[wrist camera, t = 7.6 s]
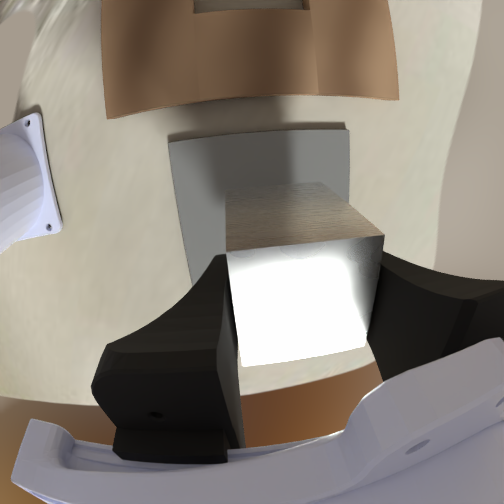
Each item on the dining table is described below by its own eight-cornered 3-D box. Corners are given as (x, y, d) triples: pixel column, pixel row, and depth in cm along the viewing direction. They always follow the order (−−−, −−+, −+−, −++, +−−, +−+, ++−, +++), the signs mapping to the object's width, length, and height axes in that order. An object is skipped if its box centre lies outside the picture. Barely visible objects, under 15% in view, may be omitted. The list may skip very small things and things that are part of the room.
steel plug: (234, 274, 15) (242, 366, 9) (225, 190, 13) (225, 251, 7) (319, 265, 15) (364, 346, 10) (321, 181, 13) (384, 234, 8)
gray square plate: (196, 295, 19) (195, 299, 19) (169, 142, 15) (168, 143, 14) (341, 278, 20) (343, 281, 19) (346, 129, 15) (349, 130, 15)
